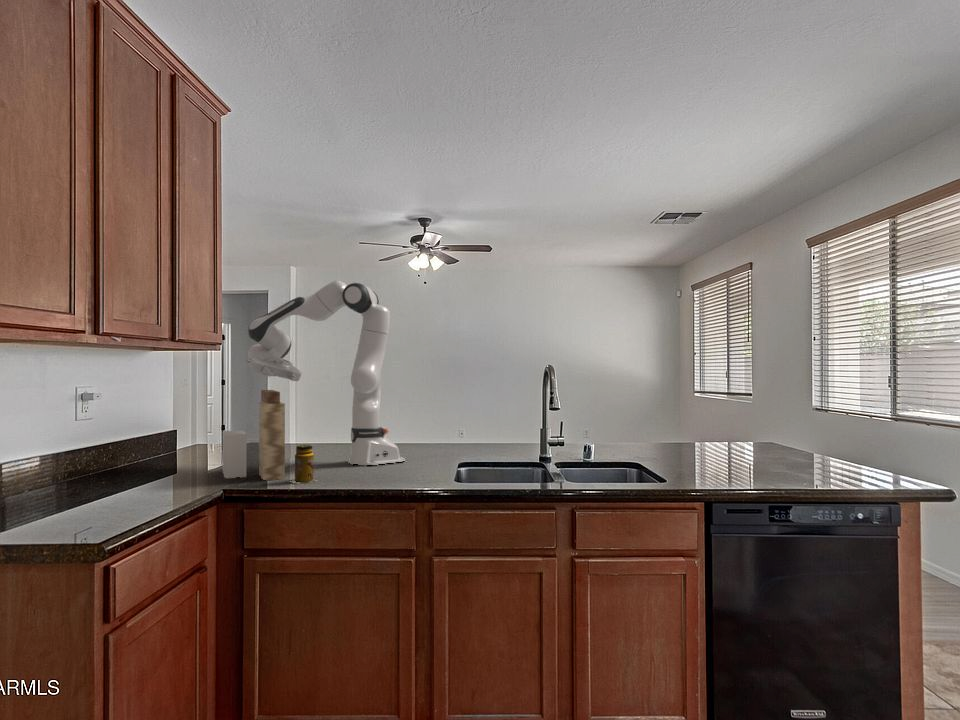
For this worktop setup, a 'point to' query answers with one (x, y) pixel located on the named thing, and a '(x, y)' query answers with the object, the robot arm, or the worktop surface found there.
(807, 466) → the worktop surface
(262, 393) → the bar
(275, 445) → the stand
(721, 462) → the worktop surface
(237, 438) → the step
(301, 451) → the condiment
